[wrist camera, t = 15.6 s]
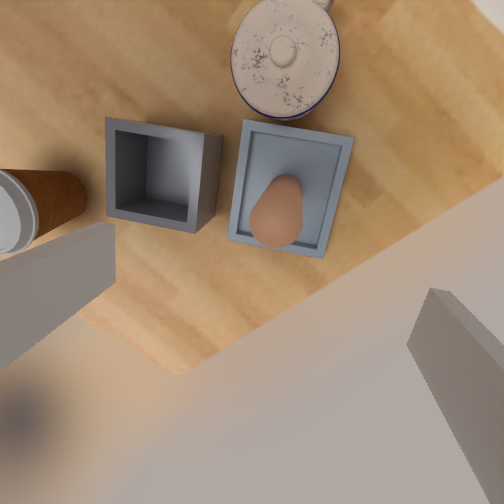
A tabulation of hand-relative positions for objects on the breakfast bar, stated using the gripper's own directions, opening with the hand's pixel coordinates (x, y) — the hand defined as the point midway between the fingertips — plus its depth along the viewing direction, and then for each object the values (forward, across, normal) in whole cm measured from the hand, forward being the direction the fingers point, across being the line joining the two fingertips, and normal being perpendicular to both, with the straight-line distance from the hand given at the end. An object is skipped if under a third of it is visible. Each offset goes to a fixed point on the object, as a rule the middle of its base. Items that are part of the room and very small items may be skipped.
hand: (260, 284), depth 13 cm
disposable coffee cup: (+27, -29, -6) cm, 40 cm away
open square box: (+27, -13, 0) cm, 30 cm away
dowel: (+26, 0, 0) cm, 26 cm away
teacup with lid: (+27, -2, +13) cm, 30 cm away
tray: (+27, 0, 0) cm, 27 cm away
